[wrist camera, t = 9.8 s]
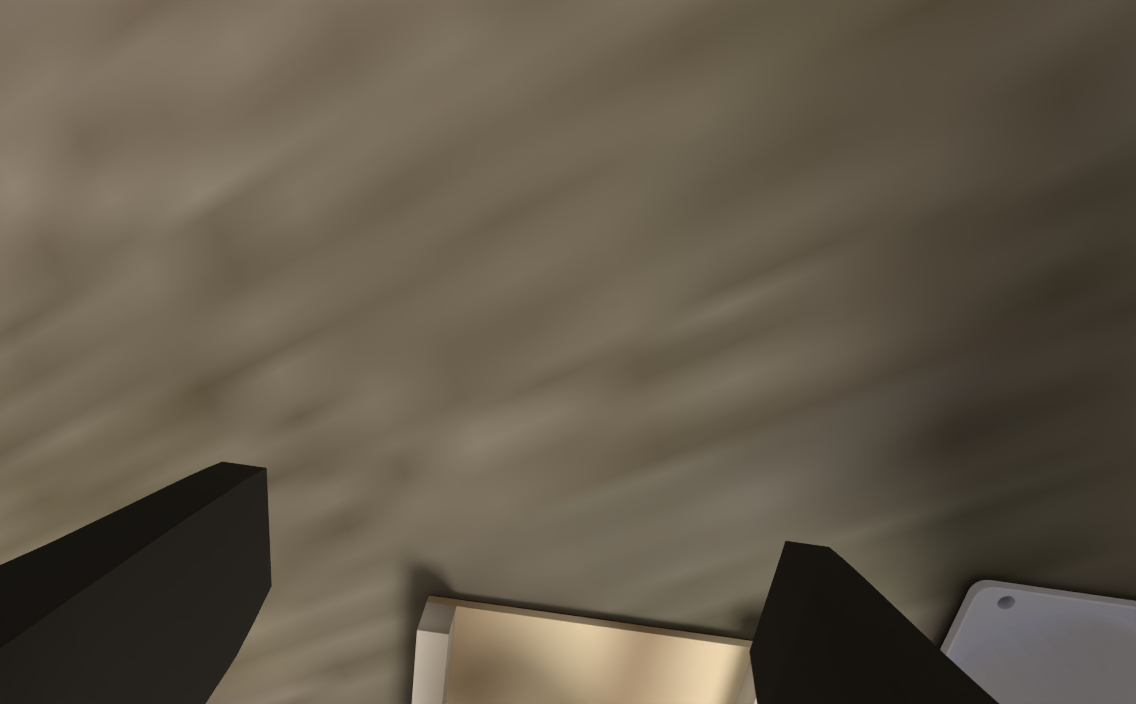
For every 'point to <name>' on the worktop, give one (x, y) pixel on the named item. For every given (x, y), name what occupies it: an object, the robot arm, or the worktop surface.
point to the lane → (569, 660)
